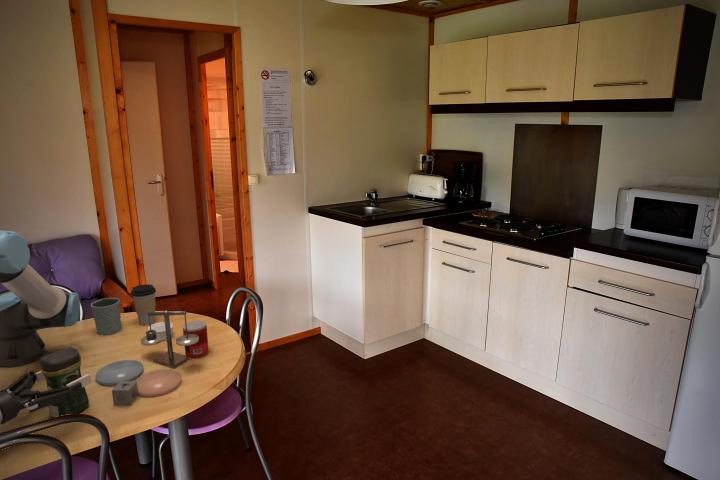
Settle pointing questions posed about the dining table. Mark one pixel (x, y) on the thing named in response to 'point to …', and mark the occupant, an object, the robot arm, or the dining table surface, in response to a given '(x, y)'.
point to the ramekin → (161, 329)
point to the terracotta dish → (158, 382)
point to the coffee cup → (144, 302)
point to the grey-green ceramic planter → (107, 315)
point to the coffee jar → (64, 379)
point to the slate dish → (119, 372)
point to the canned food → (202, 345)
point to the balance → (169, 341)
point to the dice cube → (125, 393)
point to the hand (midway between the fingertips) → (74, 372)
